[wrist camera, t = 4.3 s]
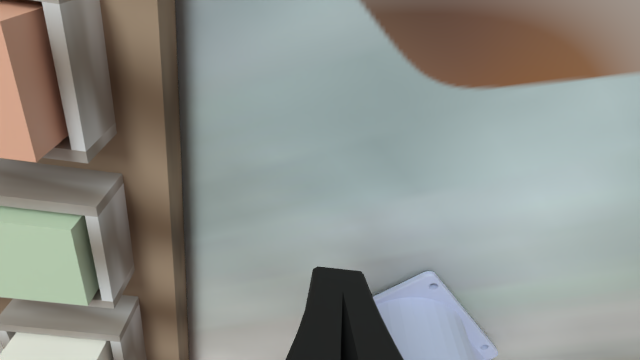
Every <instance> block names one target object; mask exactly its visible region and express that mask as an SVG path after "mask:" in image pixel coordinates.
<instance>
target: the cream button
mask: <svg viewBox="0 0 640 360" xmlns="http://www.w3.org/2000/svg"><path fill="white" fill-rule="evenodd" d="M0 360H114V358H113V353H112V348H111V343H110V341H104V340H94V339H83V338H73V337H62V336H52V335H41V334H31V333H21V332H16V334H15V335H14V336H13V338H12V339H11V340H10V342H9V343H8V344H7V346H6V347H5V348H4V350H3V351H2V352H1V354H0Z"/></svg>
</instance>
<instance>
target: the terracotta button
mask: <svg viewBox="0 0 640 360" xmlns="http://www.w3.org/2000/svg"><path fill="white" fill-rule="evenodd" d="M68 135H69V134H68V130H67V125H66V120H65V115H64V110H63V105H62V100H61V95H60V90H59V85H58V80H57V75H56V70H55V65H54V60H53V55H52V50H51V45H50V40H49V35H48V30H47V25H46V20H45V15H44V11H43V6H42V2H41V1H34V0H0V158H5V159H13V160H21V161H29V162H38V161H39V160H40V159H41V158H42V157H43V156H45V155H46V154H47V153H48V152H49V151H50V150H52V149H53V148H54V147H55V146H56V145H58V144H59V143H60V142H61V141H62V140H63V139H65V138H66V137H67V136H68Z"/></svg>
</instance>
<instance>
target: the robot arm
mask: <svg viewBox="0 0 640 360" xmlns="http://www.w3.org/2000/svg"><path fill="white" fill-rule="evenodd" d="M433 283H435V284H433ZM430 284H432V285H430ZM497 355H498V351H497V349H496V347H495V346H494V344H493V343H492V342H491V341H490V340H489V338H488V337H487V336H486V335H485V333H484V332H483V331H482V330H481V329H480V327H479V326H478V325H477V324H476V322H475V321H474V320H473V319H472V318H471V316H470V315H469V314H468V313H467V311H466V310H465V309H464V308H463V307H462V305H461V304H460V303H459V302H458V300H457V299H456V298H455V297H454V296H453V294H452V293H451V292H450V291H449V289H448V288H447V287H446V286H445V285H444V283H443V282H442V281H441V280H440V278H439V277H438V276H437V275H436V274H435V273H434V272H432V271H426V272H423V273H421V274H419V275H417V276H415V277H413V278H411V279H409V280H407V281H404V282H402V283H400V284H398V285H396V286H394V287H392V288H390V289H388V290H386V291H384V292H382V293H380V294H377V295H375V296H373V297H372V294H371V292H370V290H369V287H368V285H367V282H366V279H365V277H364V274H363V273H362V272H361V271H352V270H343V269H334V268H325V267H316V268H314V269H313V272H312V277H311V283H310V288H309V293H308V298H307V303H306V309H305V312H304V315H303V318H302V321H301V324H300V327H299V329H298V332H297V334H296V337H295V339H294V341H293V344H292V346H291V348H290V351H289V353H288V355H287V358H286V360H490V359H493V358H495V357H496V356H497Z"/></svg>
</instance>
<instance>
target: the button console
mask: <svg viewBox="0 0 640 360" xmlns="http://www.w3.org/2000/svg"><path fill="white" fill-rule="evenodd" d="M34 1H41V2H42V6H43V11H44V15H45V20H46V25H47V30H48V35H49V40H50V45H51V50H52V55H53V60H54V65H55V70H56V75H57V80H58V85H59V90H60V95H61V100H62V105H63V110H64V115H65V120H66V125H67V130H68V134H69V135H68V136H67V137H66V138H65V139H63V140H62V141H61V142H60V143H59V144H58V145H56V146H55V147H54V148H53V149H52V150H50V151H49V152H48V153H47V154H46V155H45V156H43V157H42V158H41V159H40V160H39V161H38V162H29V161H21V160H13V159H5V158H0V206H7V207H16V208H24V209H33V210H41V211H50V212H58V213H67V214H75V215H84V216H85V219H86V224H87V229H88V234H89V239H90V244H91V249H92V254H93V258H94V263H95V268H96V273H97V278H98V283H99V289H98V290H97V292H96V294H95V295H94V297H93V299H92V300H91V302H90V304H89V305H88V306H84V305H74V304H64V303H54V302H45V301H35V300H25V299H15V298H5V297H0V342H1V344H2V347H3V349H4V348H5V347H6V346H7V344H8V343H9V342H10V340H11V339H12V338H13V336H14V335H15V334H16V332H21V333H31V334H41V335H52V336H62V337H73V338H83V339H94V340H104V341H110V343H111V348H112V353H113V358H114V360H189V346H188V321H187V295H186V270H185V244H184V219H183V193H182V168H181V143H180V117H179V92H178V66H177V41H176V15H175V0H34Z"/></svg>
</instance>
